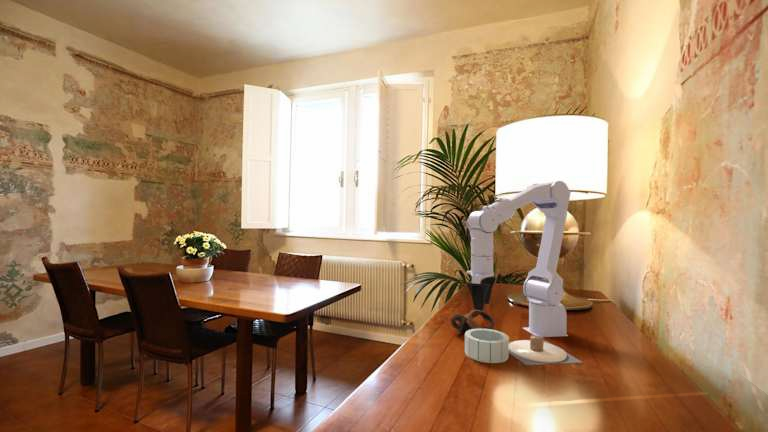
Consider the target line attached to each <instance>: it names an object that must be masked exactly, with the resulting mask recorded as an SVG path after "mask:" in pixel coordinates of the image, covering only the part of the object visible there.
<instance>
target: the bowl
mask: <svg viewBox="0 0 768 432" xmlns="http://www.w3.org/2000/svg"><path fill="white" fill-rule="evenodd" d="M509 342H510V336H509V335H508V334H506V333H505V332H503V331H499V330H496V329H494V330H491V329H483V327H482V328H479V329H466V331H465V333H464V354H465V355H466V356H467V357H468V358H469V359H471V360H473V361H474V360H475V361H476V362H480V363H487V364H500V363H505V362H507V361H508V359H509V356H510V355H509V354H510V353H509Z"/></svg>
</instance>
